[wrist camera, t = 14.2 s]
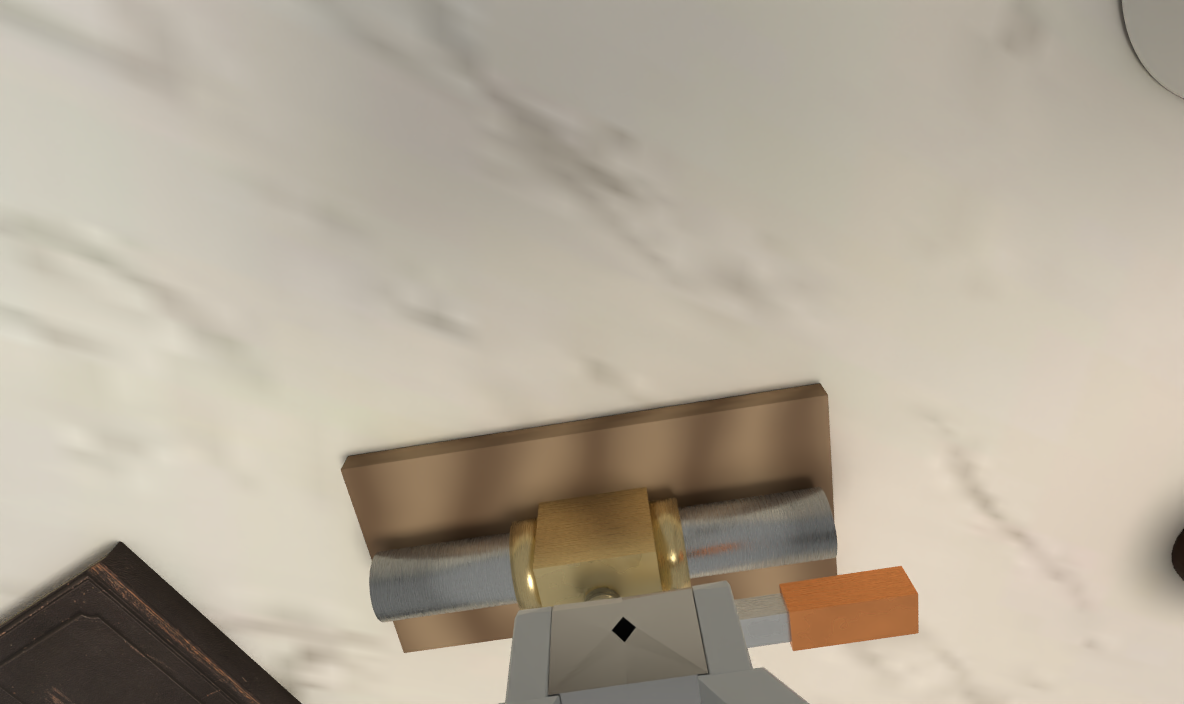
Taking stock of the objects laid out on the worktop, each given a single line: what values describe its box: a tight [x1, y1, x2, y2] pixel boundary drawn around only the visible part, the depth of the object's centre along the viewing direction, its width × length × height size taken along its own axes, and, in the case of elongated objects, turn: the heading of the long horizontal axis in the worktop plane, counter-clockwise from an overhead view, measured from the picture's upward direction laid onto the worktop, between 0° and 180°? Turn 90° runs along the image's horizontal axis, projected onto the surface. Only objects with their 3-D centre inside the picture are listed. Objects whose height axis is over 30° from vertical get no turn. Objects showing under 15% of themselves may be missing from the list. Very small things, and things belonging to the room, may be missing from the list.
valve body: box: [369, 487, 837, 622], centre depth 43 cm, size 26×6×8 cm, turn 100°
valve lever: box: [734, 566, 918, 651], centre depth 37 cm, size 17×3×2 cm, turn 100°
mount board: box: [341, 383, 837, 653], centre depth 47 cm, size 28×14×2 cm, turn 99°
